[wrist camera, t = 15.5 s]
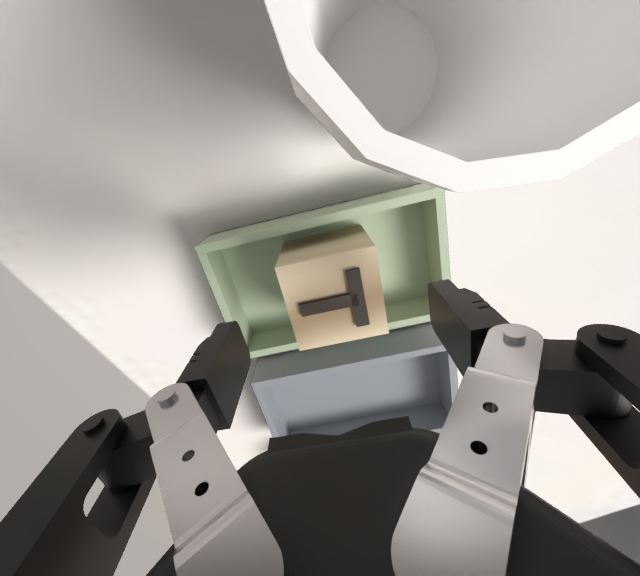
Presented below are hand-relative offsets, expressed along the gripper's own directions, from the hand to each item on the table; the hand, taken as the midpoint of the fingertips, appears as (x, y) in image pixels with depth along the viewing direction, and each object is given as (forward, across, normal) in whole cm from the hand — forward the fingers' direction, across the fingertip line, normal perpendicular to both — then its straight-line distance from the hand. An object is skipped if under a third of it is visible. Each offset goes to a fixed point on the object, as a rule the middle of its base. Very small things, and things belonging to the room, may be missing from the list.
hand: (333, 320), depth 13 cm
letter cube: (+8, 0, +1) cm, 8 cm away
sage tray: (+9, 0, +1) cm, 9 cm away
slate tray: (+8, 0, +11) cm, 14 cm away
